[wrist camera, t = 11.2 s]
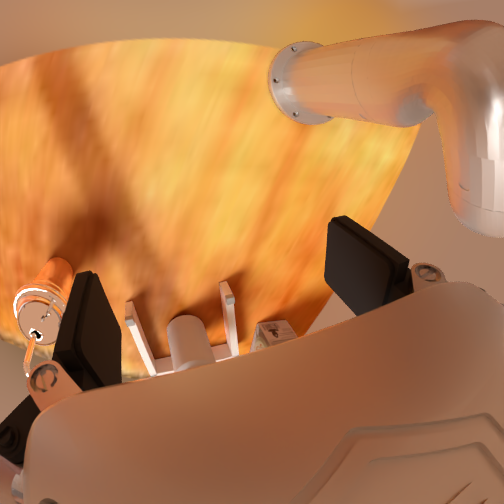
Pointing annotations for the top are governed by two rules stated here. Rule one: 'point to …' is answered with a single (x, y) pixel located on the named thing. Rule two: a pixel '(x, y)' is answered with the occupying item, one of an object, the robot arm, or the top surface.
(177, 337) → the beverage can
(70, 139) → the top surface
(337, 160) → the top surface
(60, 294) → the cup with straw
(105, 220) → the top surface
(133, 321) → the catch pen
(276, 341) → the coffee box
